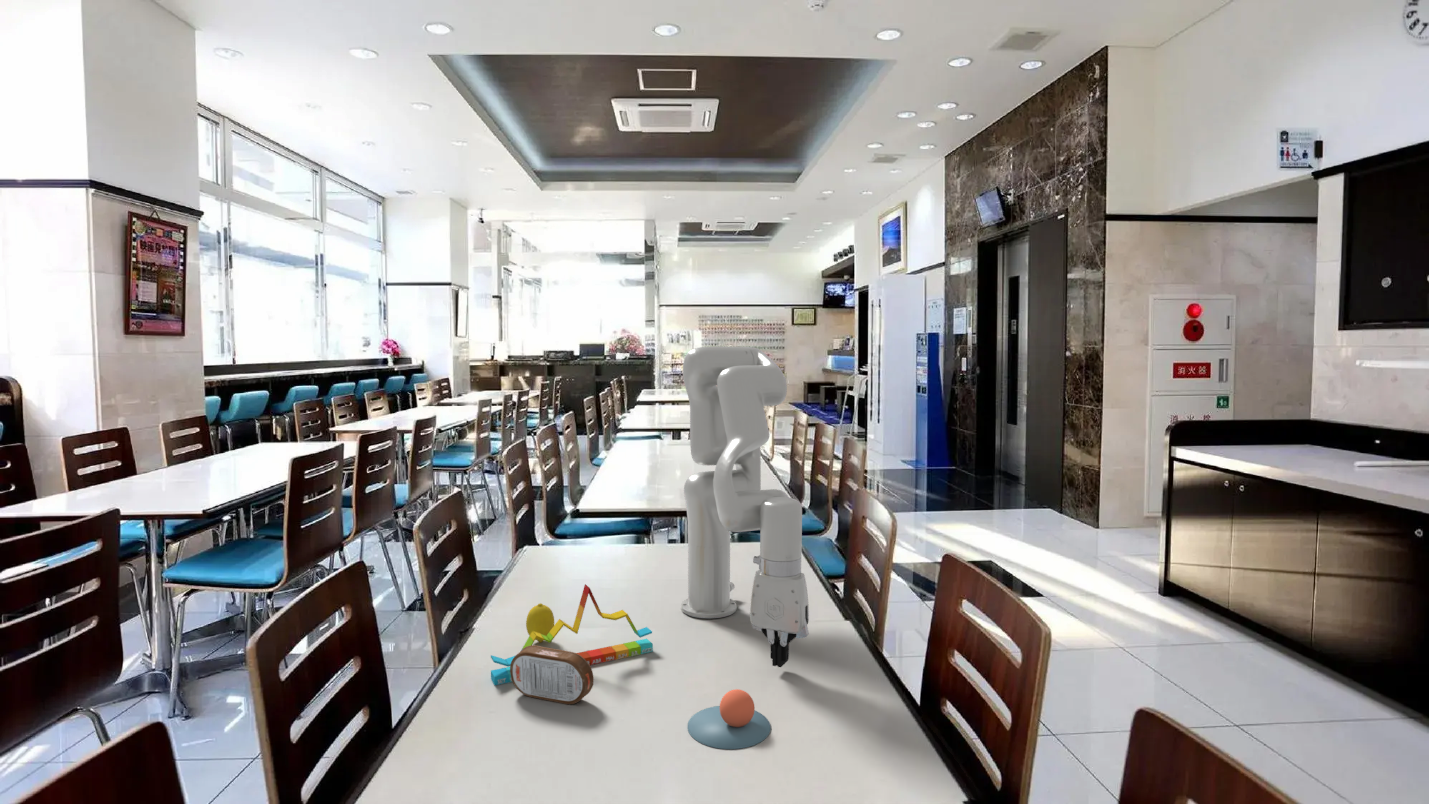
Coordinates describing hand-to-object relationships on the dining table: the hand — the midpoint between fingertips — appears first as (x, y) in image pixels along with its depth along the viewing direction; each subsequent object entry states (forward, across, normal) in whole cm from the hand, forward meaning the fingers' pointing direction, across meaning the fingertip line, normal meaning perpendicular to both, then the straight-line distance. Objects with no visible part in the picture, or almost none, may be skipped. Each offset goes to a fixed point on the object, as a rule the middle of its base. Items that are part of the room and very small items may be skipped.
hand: (779, 663), depth 134 cm
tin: (+2, -31, -27) cm, 41 cm away
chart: (+2, -35, -14) cm, 38 cm away
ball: (-1, +1, -21) cm, 21 cm away
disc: (+2, 0, -22) cm, 22 cm away
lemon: (+2, -48, -9) cm, 49 cm away
